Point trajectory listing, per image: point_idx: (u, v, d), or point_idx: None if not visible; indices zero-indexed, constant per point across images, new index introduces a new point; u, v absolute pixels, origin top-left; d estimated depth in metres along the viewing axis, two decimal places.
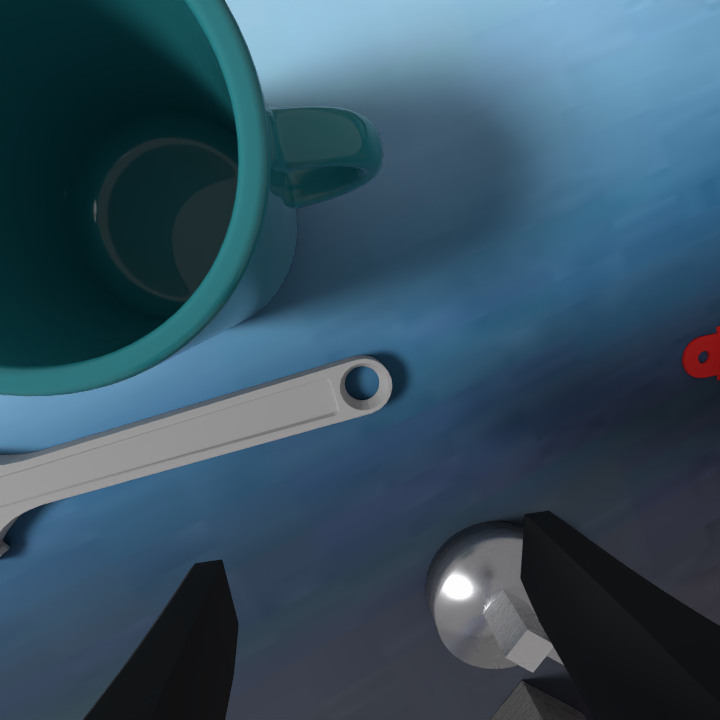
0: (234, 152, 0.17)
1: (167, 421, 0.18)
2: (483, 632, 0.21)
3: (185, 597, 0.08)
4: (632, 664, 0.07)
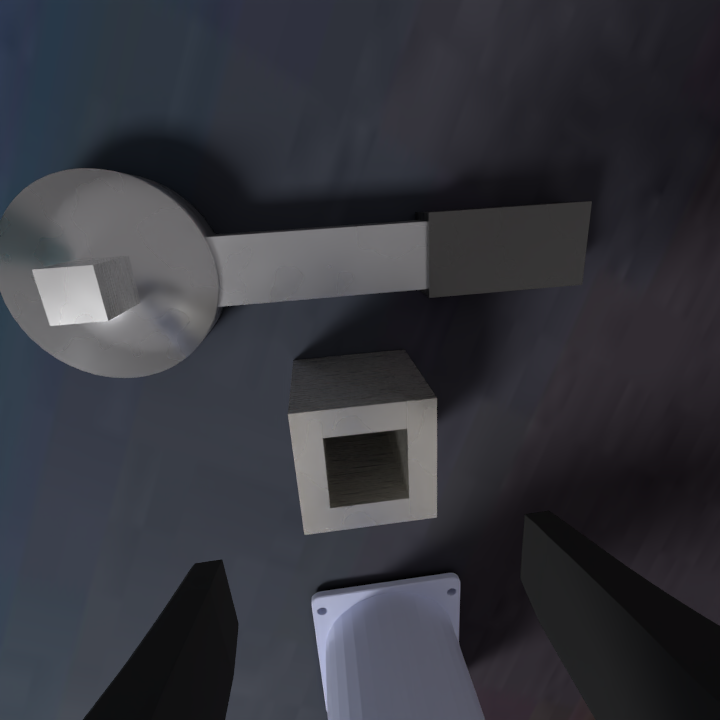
0: None
1: None
2: (118, 328, 0.15)
3: (185, 597, 0.08)
4: (632, 664, 0.07)
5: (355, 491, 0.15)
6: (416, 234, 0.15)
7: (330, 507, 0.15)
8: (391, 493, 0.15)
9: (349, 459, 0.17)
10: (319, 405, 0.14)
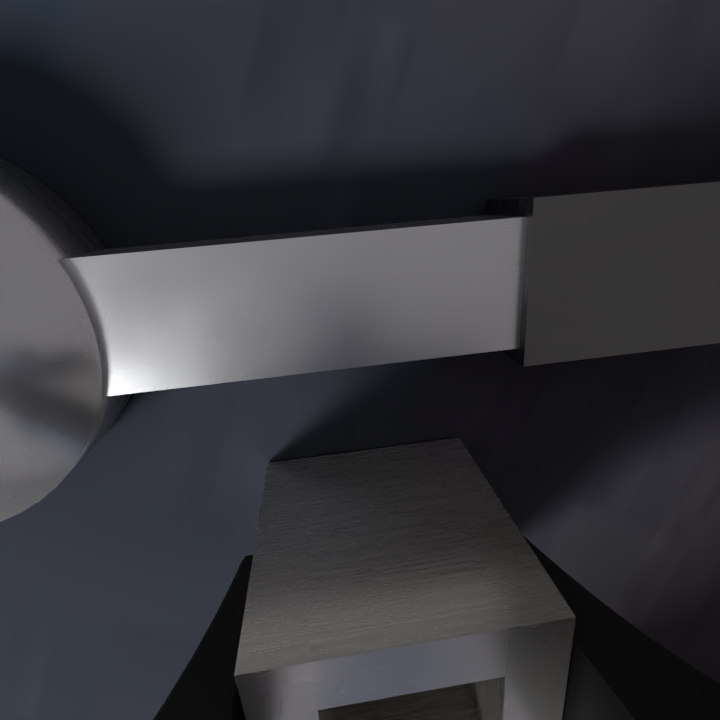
0: None
1: None
2: None
3: (244, 588, 0.08)
4: None
5: None
6: (503, 243, 0.07)
7: None
8: None
9: None
10: (309, 632, 0.06)
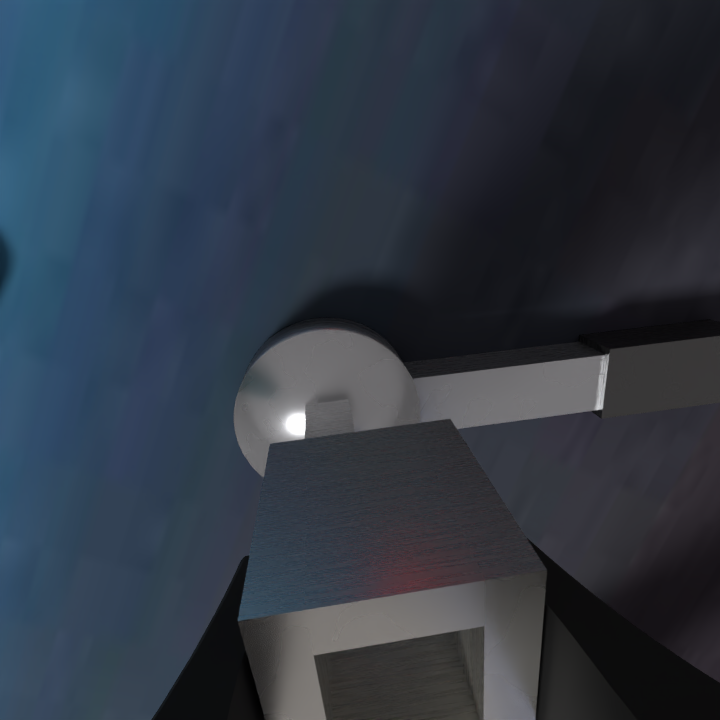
0: None
1: None
2: None
3: (242, 588, 0.08)
4: (567, 676, 0.07)
5: (380, 704, 0.08)
6: (595, 365, 0.17)
7: None
8: (448, 715, 0.08)
9: None
10: (305, 586, 0.07)
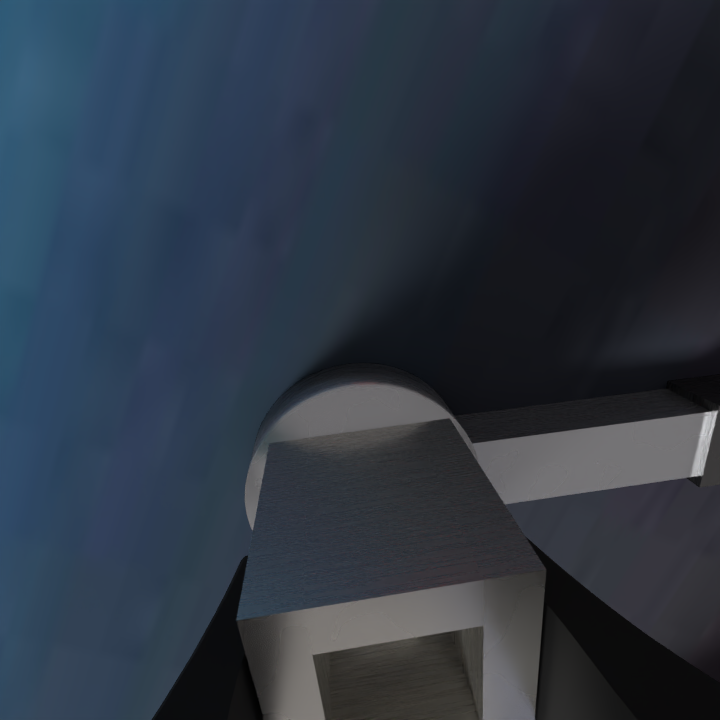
0: None
1: None
2: None
3: None
4: (568, 676, 0.07)
5: (379, 704, 0.08)
6: (696, 424, 0.13)
7: None
8: (447, 716, 0.08)
9: None
10: (303, 586, 0.07)
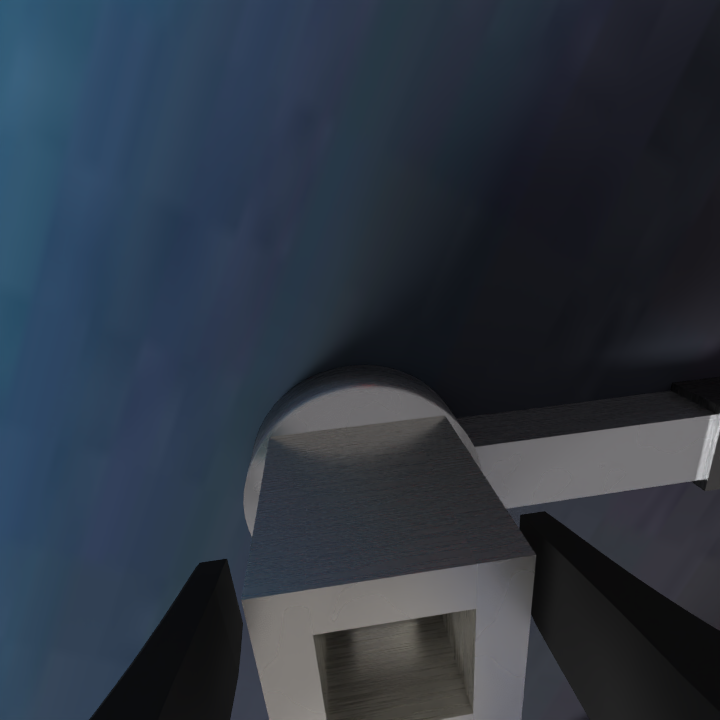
0: None
1: None
2: None
3: (190, 596, 0.08)
4: (626, 665, 0.07)
5: (374, 688, 0.09)
6: (702, 427, 0.13)
7: None
8: (439, 698, 0.08)
9: None
10: (305, 568, 0.07)
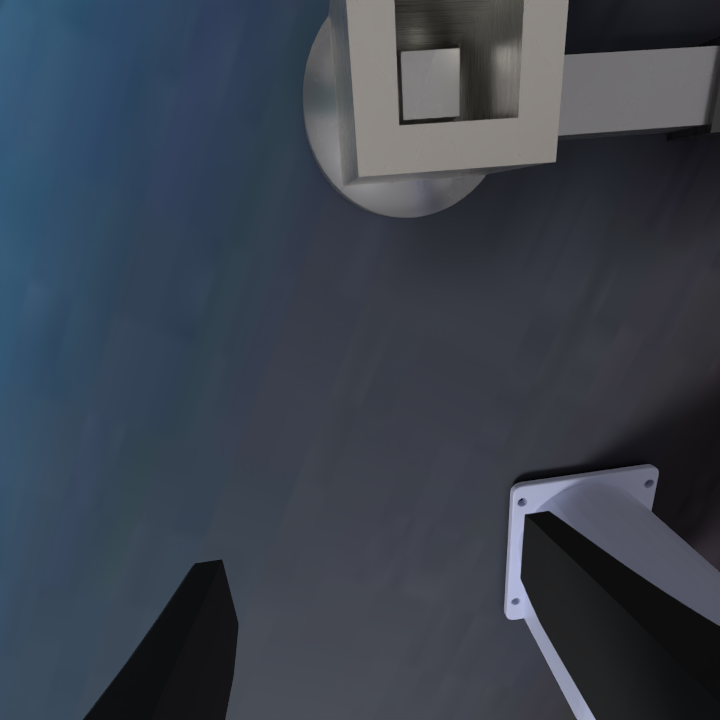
0: None
1: None
2: None
3: (185, 597, 0.08)
4: (632, 664, 0.07)
5: None
6: (708, 60, 0.15)
7: (399, 125, 0.10)
8: (488, 121, 0.10)
9: None
10: None
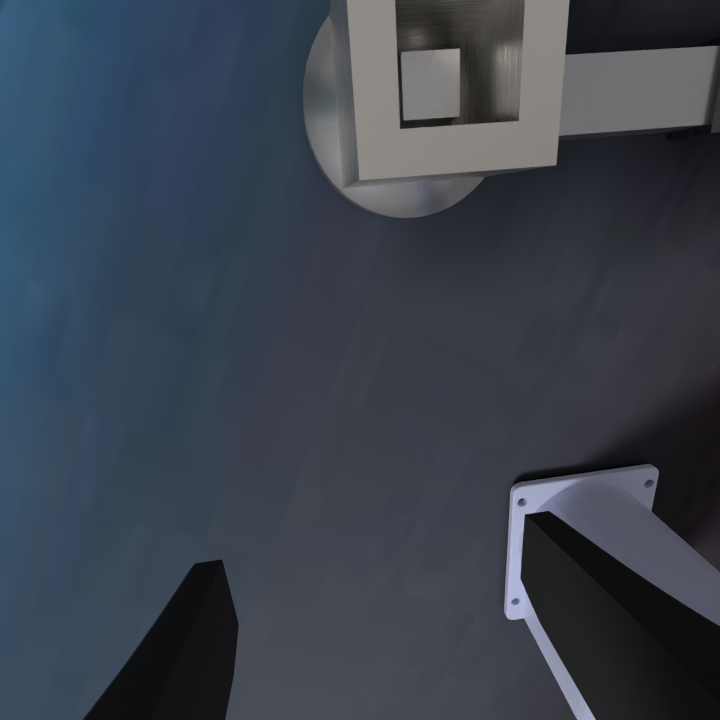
0: None
1: None
2: None
3: (185, 597, 0.08)
4: (632, 664, 0.07)
5: None
6: (708, 60, 0.15)
7: None
8: (489, 125, 0.10)
9: None
10: None
